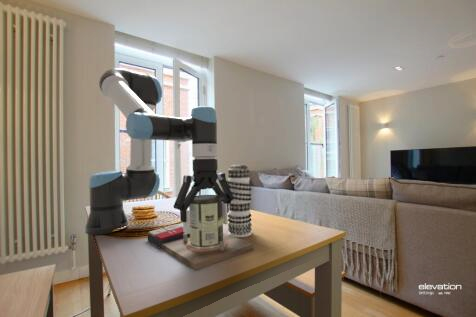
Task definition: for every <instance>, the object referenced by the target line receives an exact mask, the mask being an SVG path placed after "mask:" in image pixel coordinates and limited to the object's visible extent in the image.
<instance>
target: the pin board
mask: <svg viewBox="0 0 476 317" xmlns="http://www.w3.org/2000/svg"><path fill="white" fill-rule="evenodd" d="M161 250H163V251H165V252H166V253H168V254H169V255H171V256H172V257H175V258H176V259H177V260H179V261H181V262H182V263H183V264H185V265H187V266H188V267H189V268H191V269H193V270H195V271H199V270H201V269H203V268H206V267H209V266H212V265H214V264H217V263H219V262H222V261H225V260H229V259H230V258H234V257H235V256H236V257H237V256H239V255H241V254H243V253H246V252H249V251H251V250H254V243H252V242H249V241H246V240H244V239H240V238H239V237H232V236H230V235H229V234H227V233H224V232H223V241H220V246H219V247H216V248H212V249H196V248H193V247H191V246H190V237H187V233H184V234H183V238H182V239H178V240H175V241H171V242H167V243H163V244H162V249H161Z"/></svg>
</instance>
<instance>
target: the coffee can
mask: <svg viewBox="0 0 476 317" xmlns="http://www.w3.org/2000/svg"><path fill="white" fill-rule="evenodd" d="M222 199H223V197H222V196H219V195H217V194H201V195H200V194H199V195H196V196H195V198H194V200H193V201H192V203H191V204H190V206H189V207H188V208H189V209H188V210H190V246H191V247H193V248H196V249H212V248H216V247H219V246H220V241H223V233H224V224H223V213H222V203H223V202H222Z"/></svg>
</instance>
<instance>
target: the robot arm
mask: <svg viewBox="0 0 476 317" xmlns="http://www.w3.org/2000/svg"><path fill="white" fill-rule="evenodd" d="M98 83H99V84H98V85H99V89H100V91H101V94H103V96H104V97H105V98H107V99H109V100H110V101H112V102H113V104H114V105H115V106H116V107H117V109H118V110H119V111H120V113H121V114H122V115H123V116H124V117H125V118H126V122H125V129H126V133H127V135H128V137H129V138H130V152H129V153H130V154H129V155H130V156H129V158H130V159H129V160H130V162H129V163H130V164H128V166H126V168H125V170H126V171H125V172H123V170H122V169H118V170H117V169H114V170H107V171H100V172H97V173H93V174H92V175H90V177H89V183H88V185H89V186H88V188H89V214H88V218H87V221H86V223H85V227H84V228H85V229H84V233H85V234H86V235H93V236H96V235H97V236H98V235H99V236H100V235H109V234H111V233H110V232H112V231H113V230H114V229H117V228H121V227H124V226H127V225H128V226H129V220H128V217H127V216H126V213H125V210H124V202H125V201H132V200H139V199H147V198H150V197H154V196H155V195H156V194H157V193H158V190H159V188H160V185H161V184H160V180H161V179H160V176H159V173H158V172H157V171H156V170H155V167H154V166H153V165H152V146H153V145H152V144H153V141H175V142H177V143H184V142H190V141H191V146H192V147H191V148H192V150H191V151H192V153H191V154H192V158H194V159H193V160H192V172H193V174H192V175H189V174H188V175H186V174H184V175H183V178H182V179H183V180H182V184H181V187H180V189H179V192H178V194H177V197H176V199H175V201H174V203H173V206H172V207H173V208H174V209H175V210H179V213H180V214H179V216H180V218H179V219H180V222H181V223H183V232H185V233H187V234H190V210H189V209H188V208H189V206H190V204H191V203H192V201H193V200H194V198H195V196H198V193H199V192H201V190H207V189H209V190H210V189H212V190H213V191H214V193H215V195H219V196H222V197H223V199H222V213H223V225H228V224H229V221H228V219H229V217H228V214H229V203H231V200H234V197H233V195H232V193H231V190H230V188H229V186H228V183H227V178H226V173H224V172H218V167H219V166H218V159H217V158H216V157H217V156H218V139H217V138H218V136H217V135H218V130H217V129H218V124H217V122H218V120H217V111H216V109H215V108H214V107H212V106H205V105H204V106H195V107H193V108H192V109H191V114H190V117H177V116H167V115H159V114H156V113H155V112H153V110H154V109H156V108H157V104H159V103H160V102H161V100H162V97H163V88H162V85H161V82H160V81H159V79H158V78H157V77H156V76H154V75H151V74H148V73H143V72H138V71H134V70H131V69H129V70H128V69H126V68H120V67H115V68H110V69H108V70H106V71H105V72H103V74H102V75H101V76H100V78H99V82H98ZM152 140H153V141H152ZM217 172H218V173H217ZM217 181H218V182H219V183H218V182H217ZM192 183H193V185H192V186H191V184H192ZM219 184H220V185H219ZM190 187H191V189H190ZM189 189H190V190H189ZM108 233H109V234H108Z"/></svg>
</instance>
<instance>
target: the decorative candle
mask: <svg viewBox="0 0 476 317" xmlns="http://www.w3.org/2000/svg"><path fill="white" fill-rule="evenodd" d="M227 170H228V171H227V172H228V175H227V176H228V178H227V179H226V181H227V183H228V186H229V188H230V190H231V193H232V195H233V197H234V200H231V203H229V212H228V213H227V218H228V224H227V227H228V228H227V230H228V235H230V236H232V237H235V238H245V237H246V238H247V237H250V236H251V235H252V230H253V229H252V226H253V225H252V223H251V221H252V218H251V217H252V214H251V208H250V205H251V204H250V203H251V202H252V198H251V196H252V194H251V193H250V191H252V188H251V187H252V184H251V183H250V180H251V179H250V168H249V167H248V165H247V164H232V165H230V167H229V168H228V169H227Z"/></svg>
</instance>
